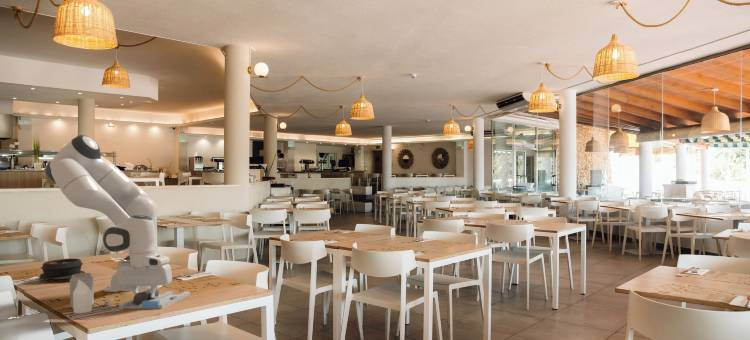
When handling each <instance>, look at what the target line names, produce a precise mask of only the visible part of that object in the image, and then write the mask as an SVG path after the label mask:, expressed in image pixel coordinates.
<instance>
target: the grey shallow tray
mask: <svg viewBox="0 0 750 340" xmlns="http://www.w3.org/2000/svg"><path fill="white" fill-rule="evenodd" d="M190 295H191V292H190V291H188V290H187V291H184V292H182V293H180V294H178V293H177V294H175V293H174V294H173V291H169V290H168V291H166V292H164V293H159V295H158V296H155V297H153V298H151V299H150V300H148V301H142V303H141V304H139V305H136V304H135V303H134V301H133V298H132V299H130V300H127V301H124V302H123V303H120V304H119V305H118V306H119V307H118V308H119V309H144V310H145V309H147V310H148V309H150V310H151V309H154V310H155V309H156V310H158V309H161V310H162V309H164V308H167V307H168V306H170V305H173V304H174V303H176V302H178V301H180V300H182V299H185V298H186V297H189V296H190Z"/></svg>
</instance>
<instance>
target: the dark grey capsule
mask: <svg viewBox="0 0 750 340" xmlns="http://www.w3.org/2000/svg"><path fill="white" fill-rule="evenodd" d="M151 291H152V288H149V289H145V290H144V291H140V292H141V293H139V294H136V295H135V296H133V298H132V299H133V301H134V303H135V304H136V305H139V304H141V303H142V301H148V300H150V299H151V298H149V297H148V296H149V295H148V293H150V292H151ZM159 294H160V292H159V290H158V288H157V289H156V291H155V296H158V295H159Z"/></svg>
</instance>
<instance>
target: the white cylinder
mask: <svg viewBox="0 0 750 340" xmlns="http://www.w3.org/2000/svg"><path fill="white" fill-rule="evenodd" d="M72 309H73V313H74V314H83V313H85V314H86V313H89V312H92V311H93V304H92V297H91V290H90V289H89V287H88V286H87V285H86V284H85V283H83V282H82V281H80V280H78V283H77V286H76V289H75V290H74V292H73V308H72Z"/></svg>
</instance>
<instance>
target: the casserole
mask: <svg viewBox="0 0 750 340" xmlns="http://www.w3.org/2000/svg"><path fill="white" fill-rule="evenodd" d="M83 264H84V263H83V262H82V260H81V259H80V258H62V259H61V258H60V259H55V260H49V261H44V262H43V263H42V266H41V267H40V269H41V270H42V272H43V273H40V274H39V277H38V279H41V280H47V281H49V280H53V281H52V282H59V281H58V280H63V281H69V280H70V279H71V278H72V275H74V274H80V273H86V272H85V271H84V270H82V266H83ZM68 279H69V280H68Z"/></svg>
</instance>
